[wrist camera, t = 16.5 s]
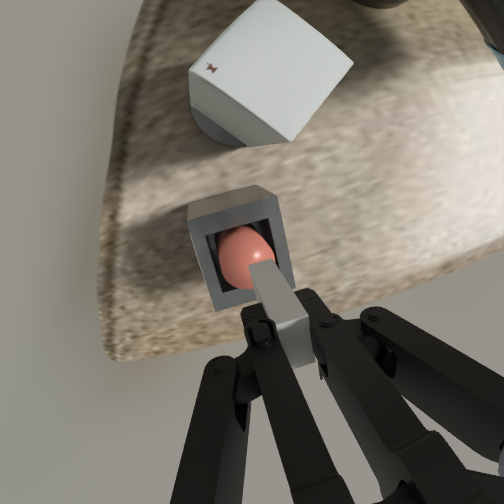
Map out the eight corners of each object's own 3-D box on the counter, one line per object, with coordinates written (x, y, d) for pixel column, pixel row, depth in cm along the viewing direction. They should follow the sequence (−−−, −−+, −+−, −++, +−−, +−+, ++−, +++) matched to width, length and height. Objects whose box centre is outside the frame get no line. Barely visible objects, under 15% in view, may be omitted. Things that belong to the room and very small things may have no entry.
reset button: (209, 224, 27) (214, 246, 21) (251, 212, 28) (268, 231, 22) (221, 263, 29) (229, 295, 23) (261, 252, 29) (279, 280, 23)
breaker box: (186, 203, 29) (183, 221, 22) (256, 184, 30) (276, 195, 23) (208, 275, 32) (213, 312, 25) (272, 256, 33) (295, 287, 25)
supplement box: (249, 149, 28) (289, 148, 16) (188, 104, 25) (182, 69, 14) (295, 94, 27) (358, 63, 15) (236, 49, 24) (265, -12, 12)
